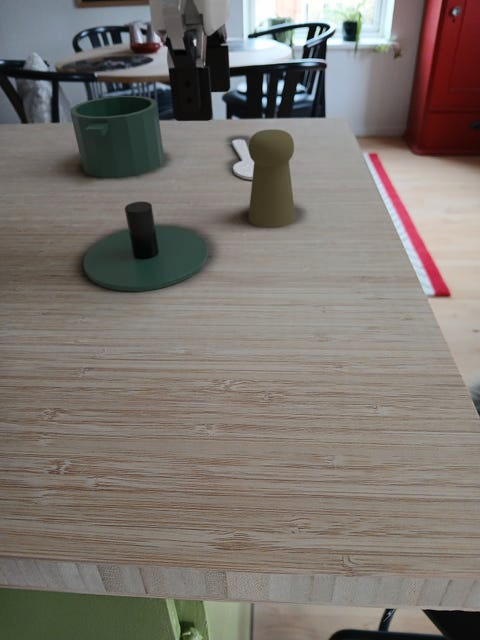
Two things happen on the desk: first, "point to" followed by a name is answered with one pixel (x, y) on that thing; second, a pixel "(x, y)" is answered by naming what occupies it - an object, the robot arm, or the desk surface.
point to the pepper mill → (271, 179)
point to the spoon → (243, 160)
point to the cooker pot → (118, 136)
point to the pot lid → (145, 254)
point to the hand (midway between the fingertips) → (204, 104)
